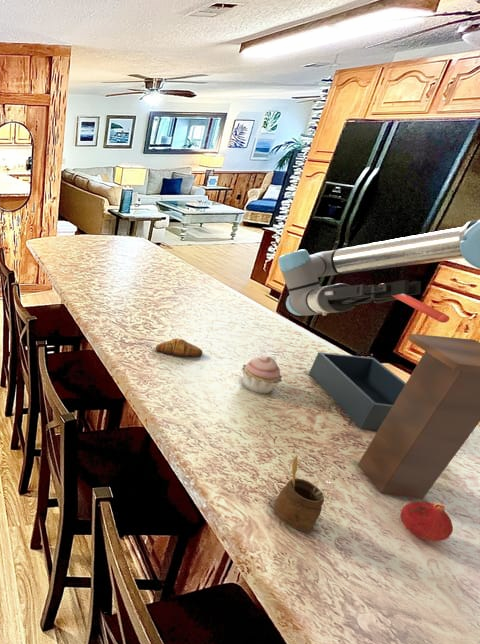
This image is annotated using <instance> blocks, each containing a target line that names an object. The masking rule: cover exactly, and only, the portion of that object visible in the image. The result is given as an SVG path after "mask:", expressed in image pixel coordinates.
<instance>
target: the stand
mask: <svg viewBox="0 0 480 644" xmlns="http://www.w3.org/2000/svg"><path fill="white" fill-rule="evenodd" d="M407 341H409V342H410V343H412V344H414V345H415V346H416V347H418V348H420V349H421V350H423V351H424V352H423V355H422V356H421V357H420V359H419V361H418V362H417V363H416V366H415V368H414V369H413V371H412V373H411V374H410V376H409V378H407V379H408V380H407V381H406V382H405V383H406V384H405V386H404V388H403V389H402V391H401V393H400V394H399V396H398V398H397V399H396V401H395V403H394V404H393V406H392V408H391V409H390V411H389V413H388V414H387V416H386V418H385V419H384V421H383V423H382V425H381V426H380V428H379V430H378V431H376V433H375V434H374V436H373V437H372V439H371V441H370V443H369V445H368V446H367V448H366V450H365V451H364V453H363V455H362V456H361V458H360V460H359V462H358V463H357V466H358V467H359V469H360V470H361V471H362V472H363V473H364V474H365V476H366V478H368V479H369V481H370V482H371V483H372V484H373V486H374V487H375V488H376V489H377V490H378V492H379V493H380V494H384V495H391V496H398V497H404V498H411V499H416V500H417V499H418V500H423V499H424V498H425V496H426V495H427V494H428V493H429V491H430V490H431V488H432V487H433V486H434V484H435V483H436V482H437V480H438V479H439V478H440V476H441V475H442V473H443V472H444V471H445V470H446V468H447V467H448V465H449V464H450V463H451V461H452V460H453V459H454V457H455V456H456V455H457V453H458V452H459V450H460V449H462V446H463V445H464V444H465V442H466V441H467V440H468V439H469V437H470V435H472V433H473V431H474V430H475V429H476V427H477V426H478V425H479V424H480V341H478V340H476V339H471V338H460V337H451V336H450V337H449V336H439V335H430V334H429V335H428V334H418V333H409V335H408V336H407Z"/></svg>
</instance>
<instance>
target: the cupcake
mask: <svg viewBox="0 0 480 644" xmlns="http://www.w3.org/2000/svg"><path fill="white" fill-rule="evenodd" d="M241 372H242V375H243V376H242V384H243V386H244V388H247V389H248V390H249V391H251V392H253V393H257V394H261V395H263V394H264V395H265V394H269V393H271V391H272V390H273V389H274V388H275V387H276V386H277V385H279V384H280V383H282V382H283V379H282V378H283V376H282V375H281V370H280V367H279V365H278V363H277V362H276V360H275V359H274V358H272V357H271V356H268V355H264V356H260V357H253V358H251V359H250V360H249V361H248V362H247V363H246V364H242V367H241Z"/></svg>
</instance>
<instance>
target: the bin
mask: <svg viewBox="0 0 480 644" xmlns="http://www.w3.org/2000/svg"><path fill="white" fill-rule="evenodd" d="M308 375H309V376H310V377H311V378H312V379H313V380H314V381H315V382H316V383H317V384H318V385H319V386H320V388H322V389H323V391H324V392H325V393H326V394H327V395H328V396H329V397H330V398H331V399H332V401H334V402H335V403H336V405H338V407H339V408H340V409H341V410H342V411H343V412H344V414H346V415H347V416H348V417H349V418H350V420H352V422H353V423H354V424H355V425H356V426H357V427H358V428H359V429H360V430H366V431H367V430H368V431H375V432H377V431H378V430H379V428H380V426H381V425H382V423H383V421H384V419H385V418H386V416H387V414H388V413H389V411H390V409H391V408H392V406H393V404H394V403H395V401H396V399H397V398H398V396H399V394H400V393H401V391H402V389H403V388H404V386H405V384H406V383H407V382H405V381H404V380H403V379H402V378H401V377H399V376H398V375H396V374H395V373H394V372H393V371H391V370H390V369H389V368H387V366H385V365H384V364H383V363H381V362H380V361H379V360H378V359H376V358H375V357H371V356H370V357H369V356H361V355H360V356H359V355H352V354H351V355H349V354H339V353H332V352H322V351H321V352H320V351H318V352H317V354H316V357H315V359H314V361H313V364H312V366H311V367H310V369H309V372H308Z"/></svg>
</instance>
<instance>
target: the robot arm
mask: <svg viewBox="0 0 480 644" xmlns="http://www.w3.org/2000/svg"><path fill="white" fill-rule="evenodd" d="M461 259H463V260H465V261H466V262H467V263H468V264H470V265H471V266H473V267H475V268H477V269H478V270H480V219H476V220H470V221H467V222H466V223H465V224H464V225H463V226H460V227H455V228H449V229H444V230H438V231H433V232H427V233H423V234H422V233H421V234H416V235H409V236H405V237H404V236H403V237H399V238H394V239H388V240H387V239H386V240H383V241H376V242H371V243H366V244H359V245H355V246H349V247H343V248H338V249H332V250H322V251H319V252H315V253H313V254H310V253H309V252H308V250H307V249H305V248H304V249H299V250H296V251H291V252H288V253H286V254H283V255H280V256H279V257H278V259H277V261H278V265H279V270H280V272H281V274H282V277H283V279H284V282H285V285H286V288H287V290H288V293H289V295H288V296H287V297H286V301H285V306H286V309H287V310H288V312H290V313H291V314H293V315H294V316H306V317H311V316H317V315H322V316H323V317H324V316H327V315H328V314H333V313H334V314H335V313H345V312H349V311H351V310H353V309H354V308H355V307H356V306H359V305H363V304H368V303H372V301H373V303H376V304H383V303H386V302H392V301H399V300H398V299H396V298H395V297H393V296H391V295H397V294H407V295H409V296H414V295H415V296H416V295H421V291H422V289H421V288H422V281H421V280H413V281H410V280H409V279H407V280H406V279H403V280H397V281H391V282H386V283H385V284H382V283H379V284H370V285H367V284H364V283H363V284H356V285H350V284H347V283H335V284H330V285H324V286H321V284H320V281H319V278H322V277H329V276H337V275H343V274H352V273H359V272H366V271H374V270H375V271H376V270H382V269H390V268H397V267H405V266H413V265H414V266H415V265H422V264H429V263H430V264H431V263H437V262H444V261H452V260H461Z"/></svg>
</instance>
